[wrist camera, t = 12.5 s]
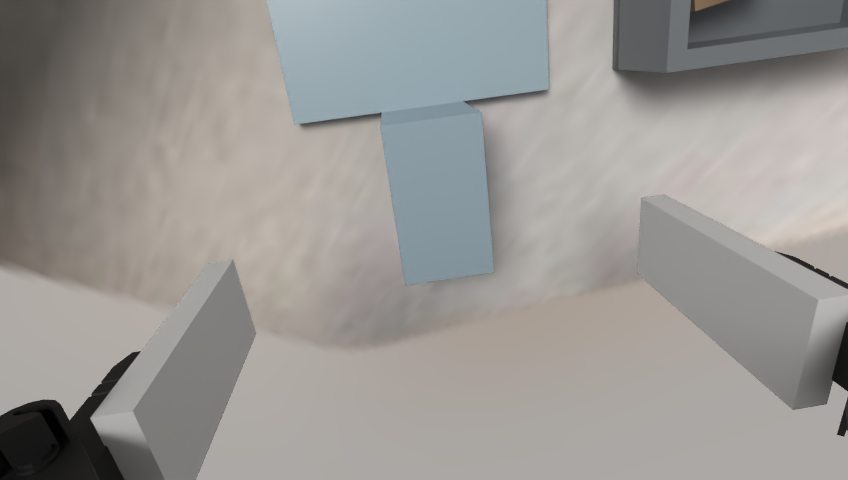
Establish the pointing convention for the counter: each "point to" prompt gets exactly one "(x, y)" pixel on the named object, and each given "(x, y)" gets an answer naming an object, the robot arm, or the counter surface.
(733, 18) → the tub
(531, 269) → the counter surface
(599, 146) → the counter surface
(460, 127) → the lid
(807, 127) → the counter surface
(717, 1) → the walnut block
